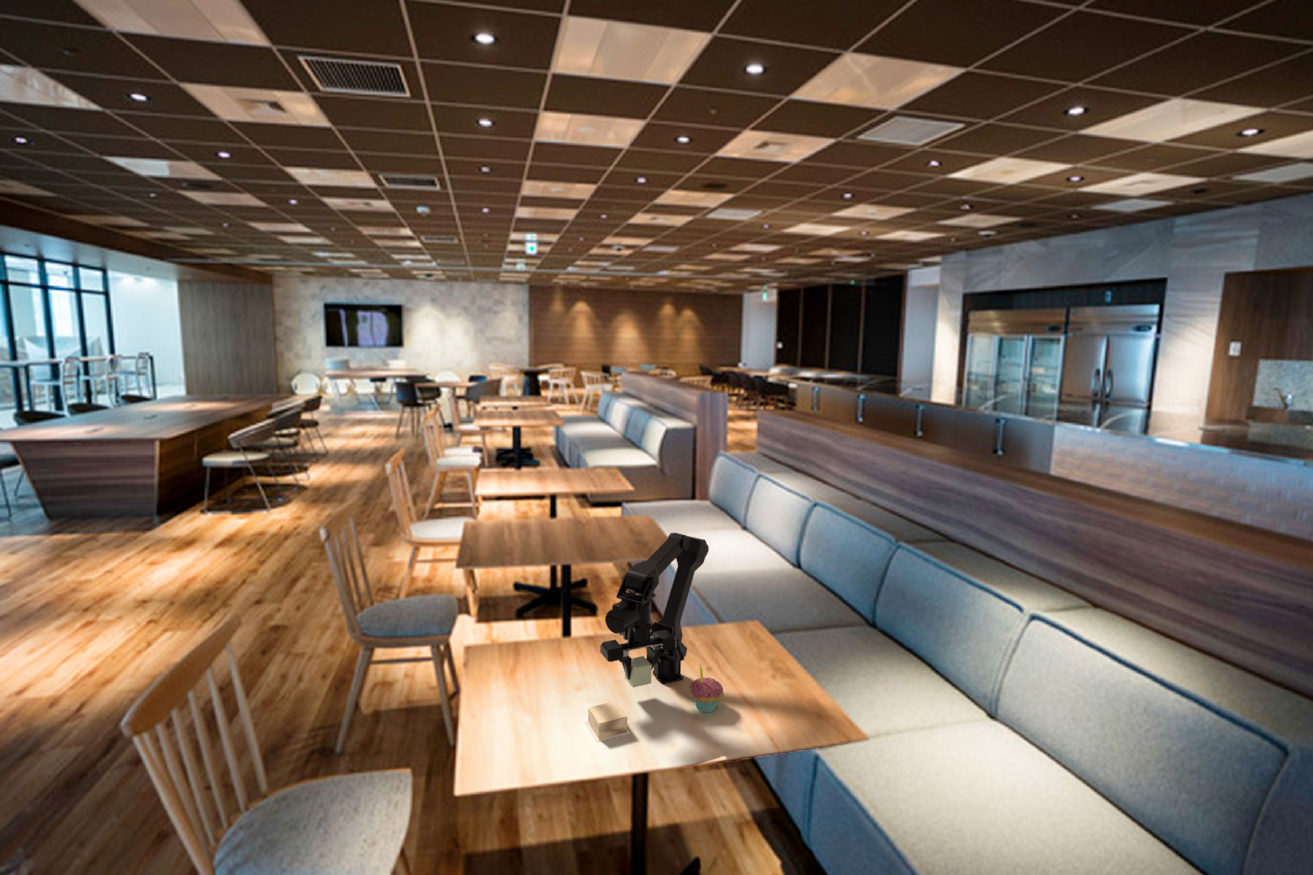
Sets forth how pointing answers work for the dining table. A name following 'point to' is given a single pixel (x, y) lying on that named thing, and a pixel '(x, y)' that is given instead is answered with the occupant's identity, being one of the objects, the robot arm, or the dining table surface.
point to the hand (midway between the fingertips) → (638, 676)
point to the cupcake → (705, 693)
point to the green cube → (640, 672)
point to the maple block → (607, 720)
